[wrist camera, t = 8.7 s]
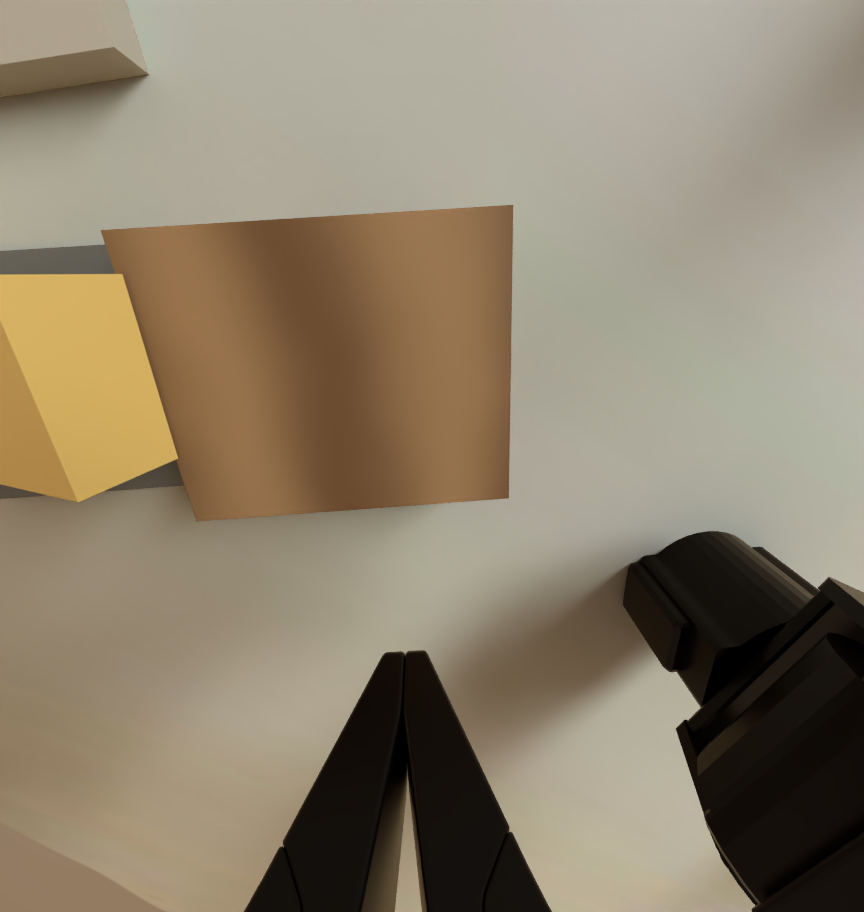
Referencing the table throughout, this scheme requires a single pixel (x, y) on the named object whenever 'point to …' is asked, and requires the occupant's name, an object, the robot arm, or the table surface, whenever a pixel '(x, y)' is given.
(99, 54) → the beige tile
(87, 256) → the mat
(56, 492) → the yellow block
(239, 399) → the block
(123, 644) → the table surface
